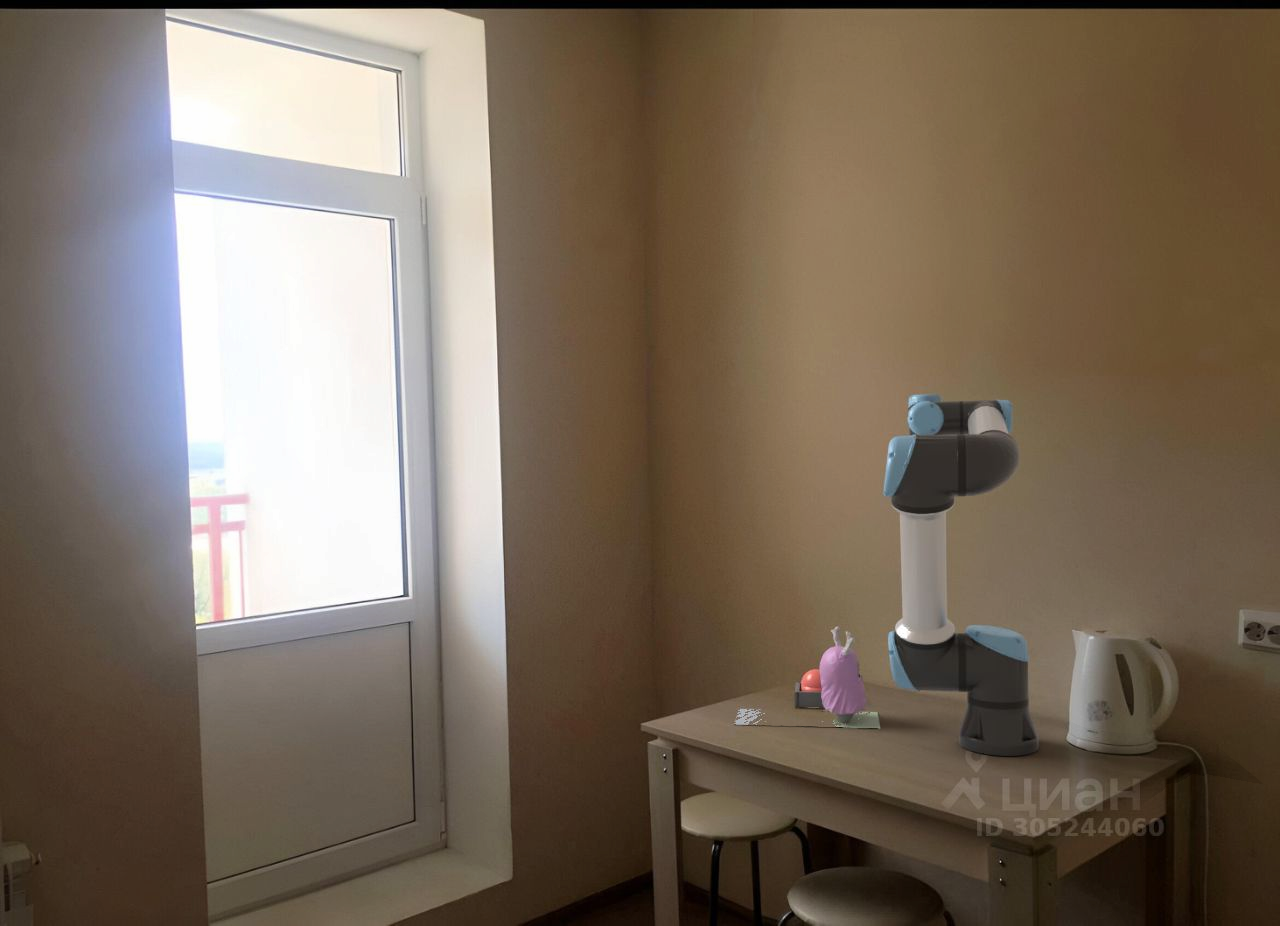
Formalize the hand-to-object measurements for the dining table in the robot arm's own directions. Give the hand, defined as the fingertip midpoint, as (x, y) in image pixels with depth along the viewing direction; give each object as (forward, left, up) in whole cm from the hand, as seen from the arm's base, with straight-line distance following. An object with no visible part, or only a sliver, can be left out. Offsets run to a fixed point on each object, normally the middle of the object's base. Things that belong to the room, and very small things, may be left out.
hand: (927, 552), depth 246 cm
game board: (-19, +28, -35) cm, 48 cm away
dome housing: (-5, +26, -35) cm, 44 cm away
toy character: (-19, +20, -35) cm, 44 cm away
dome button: (-5, +26, -34) cm, 43 cm away
